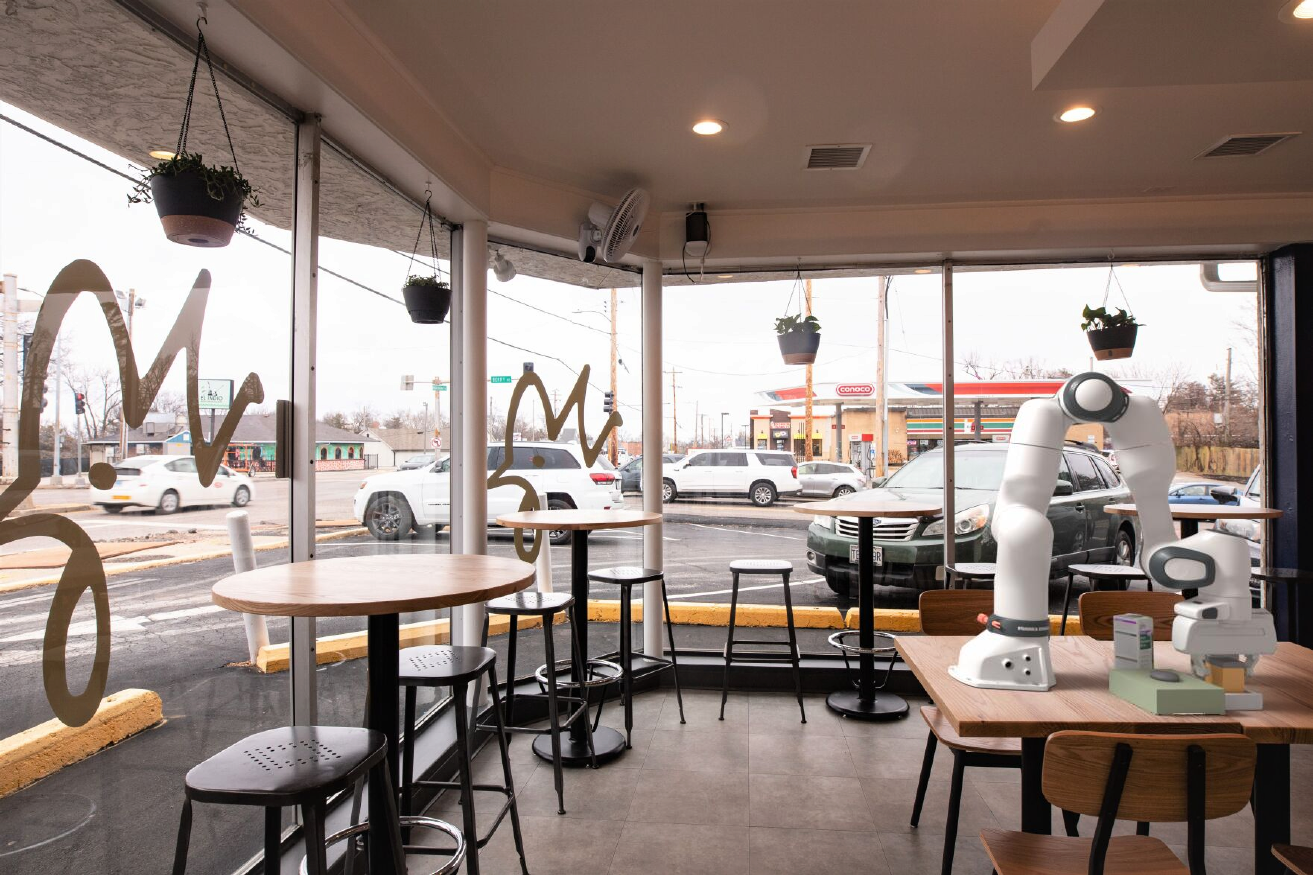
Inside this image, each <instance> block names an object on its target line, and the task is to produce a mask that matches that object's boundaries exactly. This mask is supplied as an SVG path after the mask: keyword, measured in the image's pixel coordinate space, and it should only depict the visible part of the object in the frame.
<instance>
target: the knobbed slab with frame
mask: <svg viewBox="0 0 1313 875" xmlns="http://www.w3.org/2000/svg"><path fill="white" fill-rule="evenodd" d="M1108 671H1109V672H1108V674H1109V677H1108V678H1109V680H1108V685H1109V686H1108V688H1109V691H1108V692H1109V694H1112V695H1113V696H1116V697H1117V698H1119V699H1122V700H1124V701H1126V702H1128V703H1131V704H1132V705H1134V704H1135V706H1137V707H1139V708H1140V709H1143V710H1145V711H1147V712H1148V713H1151V712H1153V713H1154V715H1155V714H1157V715H1156V716H1160V715H1159V714H1173V713H1203V714H1204V713H1205V714H1220V715H1219V716H1223V715H1224V716H1225V715H1226V711H1239V710H1240V711H1255V710H1256V711H1258V710H1259V711H1261V710H1262V711H1263V705H1264V704H1263V703H1264V702H1263V694H1261V693H1259V692H1256V691H1254V690H1250V689H1249V688H1248V689H1247V688H1245V687H1244V693H1225V689H1223V688H1220V687H1218V686H1215V685H1213V684H1210V683H1207V682H1206V680H1202V679H1199V678H1197V677H1194V676H1192V675H1188V674H1186V673H1184V672H1181V671H1178V670H1175V669H1174V668H1154V669H1115V668H1109V670H1108ZM1153 713H1152V714H1153Z"/></svg>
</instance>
